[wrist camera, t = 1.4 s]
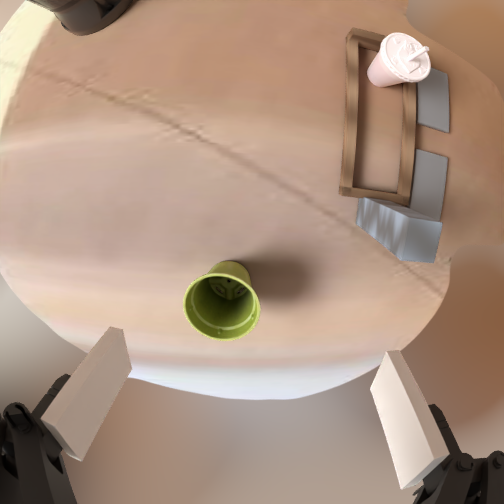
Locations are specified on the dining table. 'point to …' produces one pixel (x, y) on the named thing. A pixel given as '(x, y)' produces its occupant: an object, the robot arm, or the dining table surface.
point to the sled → (387, 204)
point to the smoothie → (399, 61)
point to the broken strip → (425, 163)
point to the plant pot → (222, 303)
